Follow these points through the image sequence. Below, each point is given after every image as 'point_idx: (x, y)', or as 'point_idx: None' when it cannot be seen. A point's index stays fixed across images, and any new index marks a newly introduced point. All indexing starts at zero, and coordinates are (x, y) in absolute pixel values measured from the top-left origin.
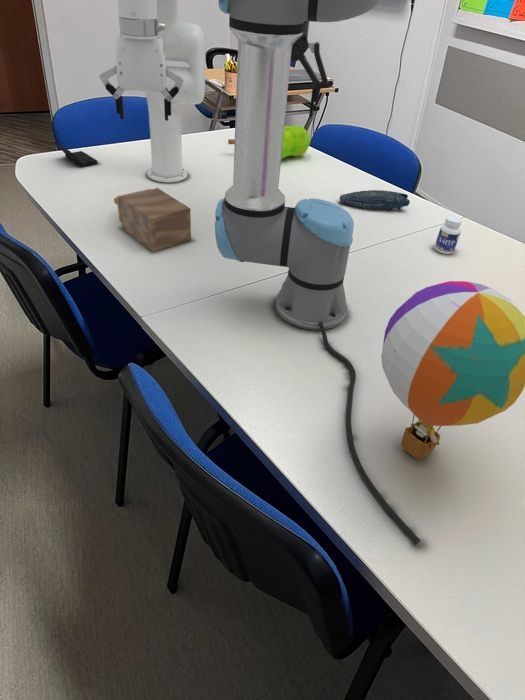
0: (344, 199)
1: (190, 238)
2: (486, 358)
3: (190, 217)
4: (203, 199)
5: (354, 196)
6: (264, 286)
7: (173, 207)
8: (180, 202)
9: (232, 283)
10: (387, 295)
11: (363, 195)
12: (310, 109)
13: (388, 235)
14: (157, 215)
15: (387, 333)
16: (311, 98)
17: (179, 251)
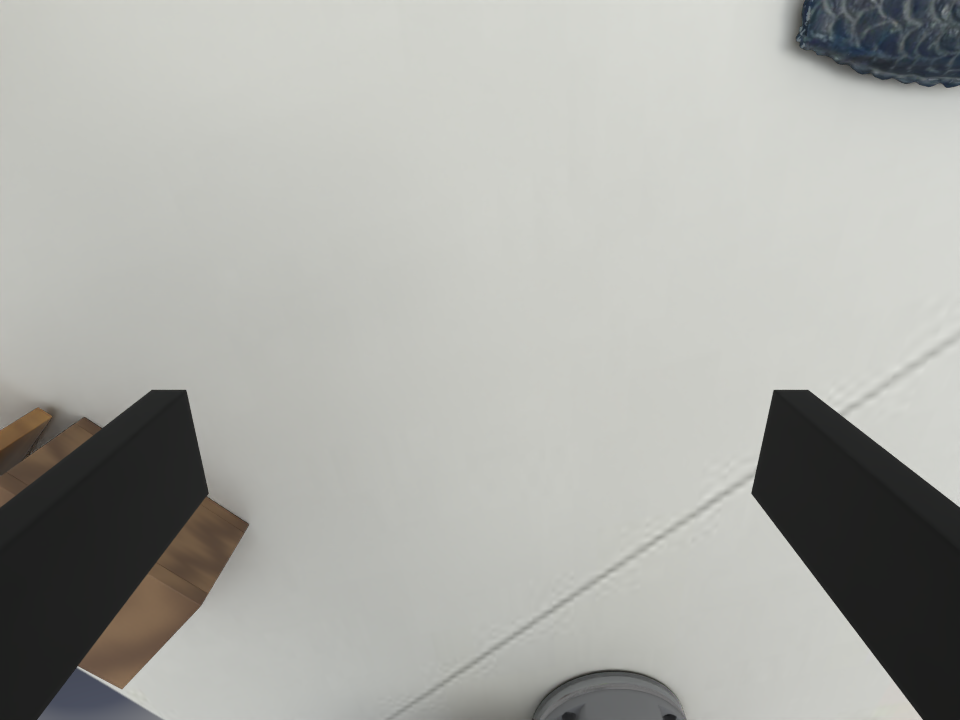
0: (826, 43)
1: (245, 530)
2: None
3: (215, 580)
4: (150, 193)
5: (890, 35)
6: (499, 671)
7: (144, 612)
8: (146, 575)
9: (422, 675)
10: (801, 648)
11: (947, 26)
12: (795, 543)
13: (929, 323)
14: (128, 669)
15: None
16: (872, 649)
17: (244, 580)
